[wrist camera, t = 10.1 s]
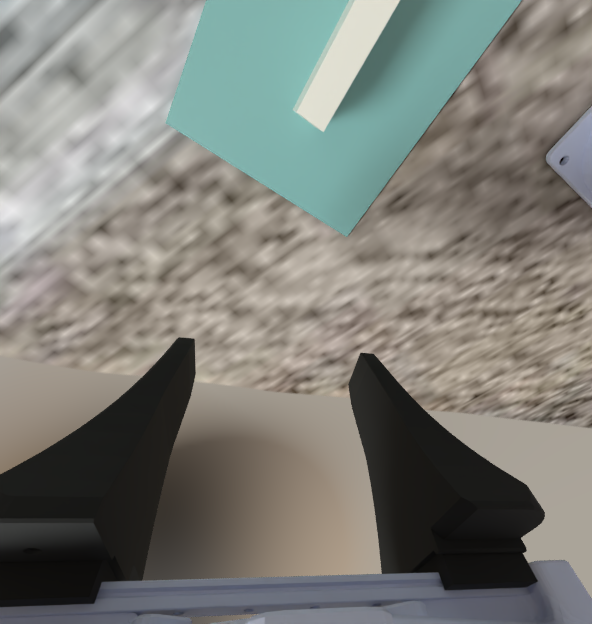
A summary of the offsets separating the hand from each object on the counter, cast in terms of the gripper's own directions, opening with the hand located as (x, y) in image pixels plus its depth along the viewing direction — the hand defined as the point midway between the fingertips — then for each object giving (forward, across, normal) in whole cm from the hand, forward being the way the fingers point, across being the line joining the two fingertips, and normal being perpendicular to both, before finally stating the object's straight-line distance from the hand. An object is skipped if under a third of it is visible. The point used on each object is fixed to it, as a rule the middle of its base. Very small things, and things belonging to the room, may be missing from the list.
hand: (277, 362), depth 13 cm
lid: (+10, -2, -12) cm, 15 cm away
